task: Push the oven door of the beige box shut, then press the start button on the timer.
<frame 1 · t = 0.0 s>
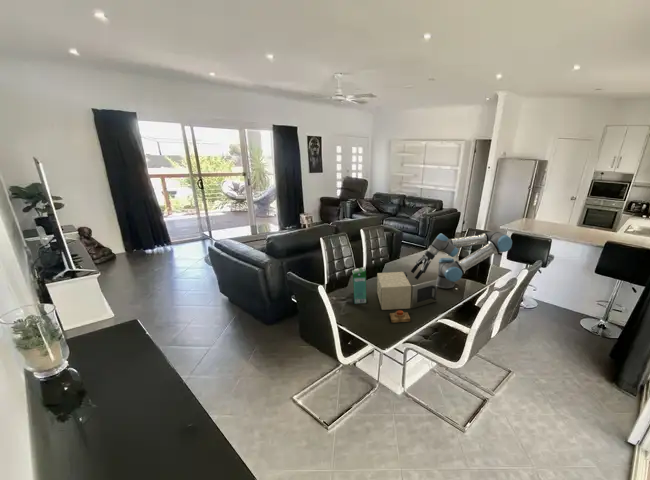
hand: (413, 275, 240), 15 cm above the table, tool tilted 35°, fingers open, 13 cm apart
start button: (399, 312, 208), point 4 cm above the table, slide at 0.1 cm
beige box: (393, 300, 235), on the table
milk carton: (360, 301, 236), on the table
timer: (399, 318, 209), on the table
oven door: (425, 294, 223), point 8 cm above the table, hinge at 65.0°
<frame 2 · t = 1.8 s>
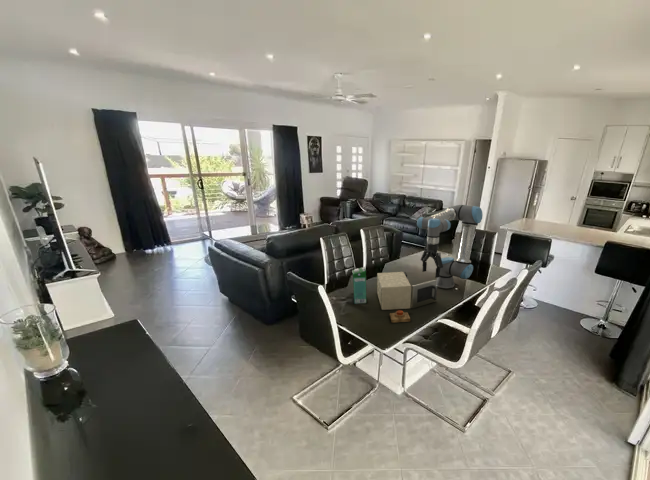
hand: (430, 274, 214), 25 cm above the table, tool pointing down, fingers open, 13 cm apart
nothing on the table moved.
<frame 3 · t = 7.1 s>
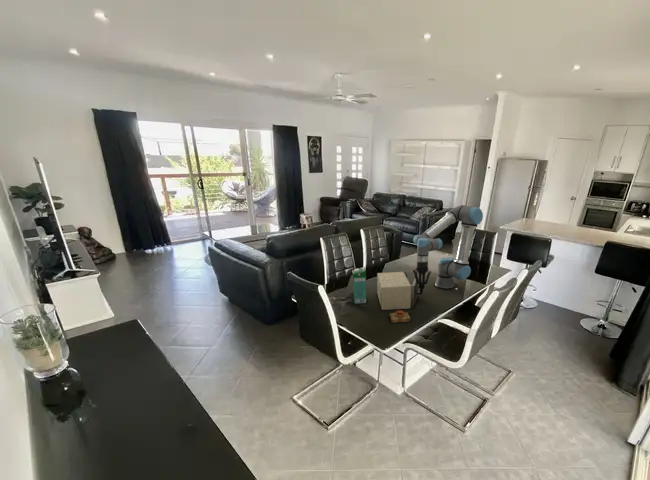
hand: (421, 292, 227), 8 cm above the table, tool pointing down, fingers closed
oven door: (417, 291, 229), point 8 cm above the table, hinge at 22.0°, touching hand
everything else where it was.
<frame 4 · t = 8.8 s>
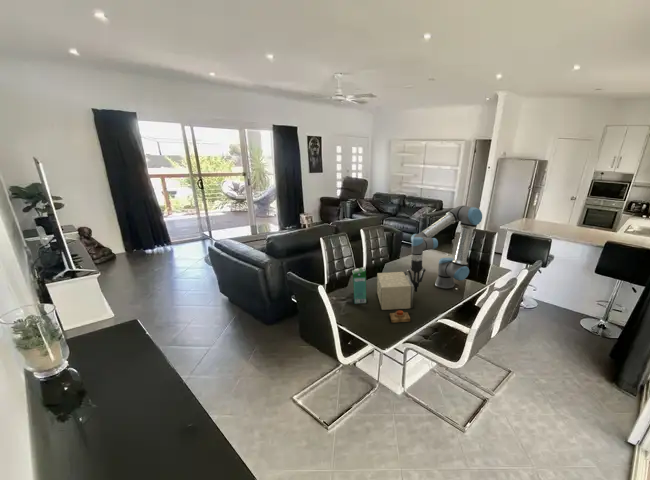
hand: (415, 291, 230), 8 cm above the table, tool pointing down, fingers closed
oven door: (411, 291, 230), point 8 cm above the table, hinge at 0.4°, touching hand
everything else where it was.
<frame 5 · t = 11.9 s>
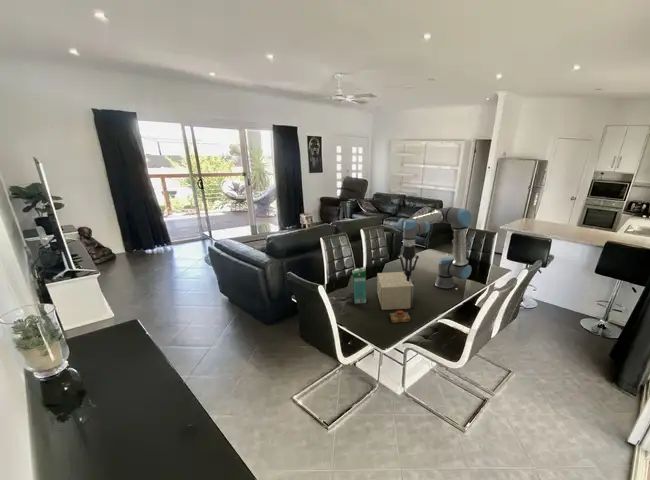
hand: (407, 280, 209), 23 cm above the table, tool pointing down, fingers closed
oven door: (411, 291, 230), point 8 cm above the table, hinge at 0.3°
everything else where it was.
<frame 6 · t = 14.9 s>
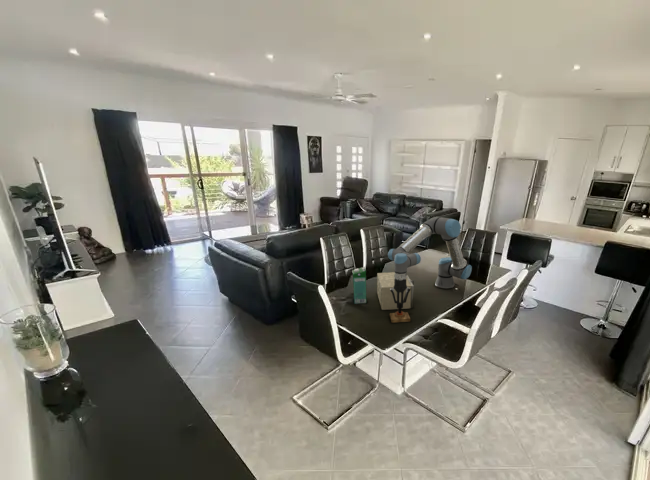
hand: (399, 312, 207), 5 cm above the table, tool pointing down, fingers closed
start button: (399, 313, 208), point 4 cm above the table, slide at -0.7 cm, touching gripper
everything else where it was.
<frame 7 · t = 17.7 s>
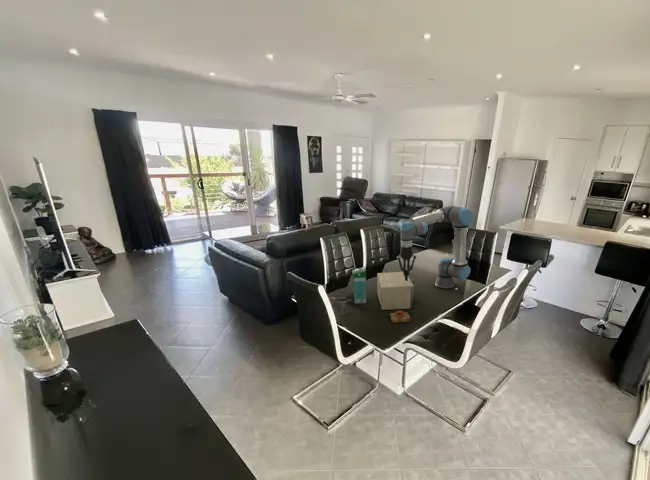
hand: (406, 279, 216), 21 cm above the table, tool pointing down, fingers closed
start button: (399, 312, 208), point 4 cm above the table, slide at 0.1 cm
everything else where it was.
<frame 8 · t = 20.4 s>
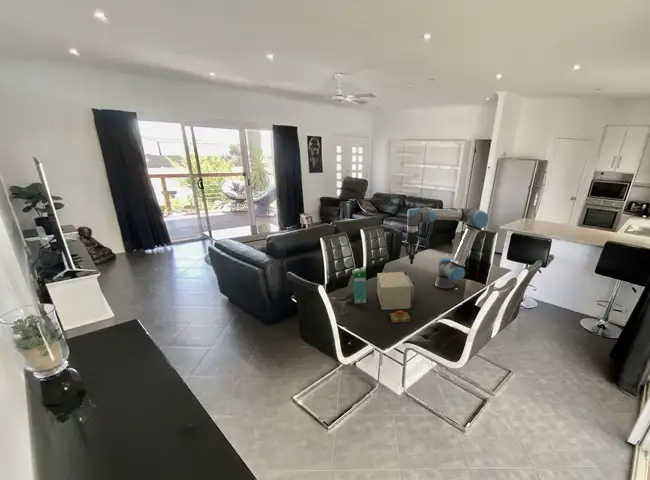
hand: (411, 263, 231), 26 cm above the table, tool pointing down, fingers closed
nothing on the table moved.
at the end: oven door at +0° (first picture: +65°); start button pushed in 1.0 cm at the most during the clip, back to where it started at the end; start button slide at 0.1 cm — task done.
